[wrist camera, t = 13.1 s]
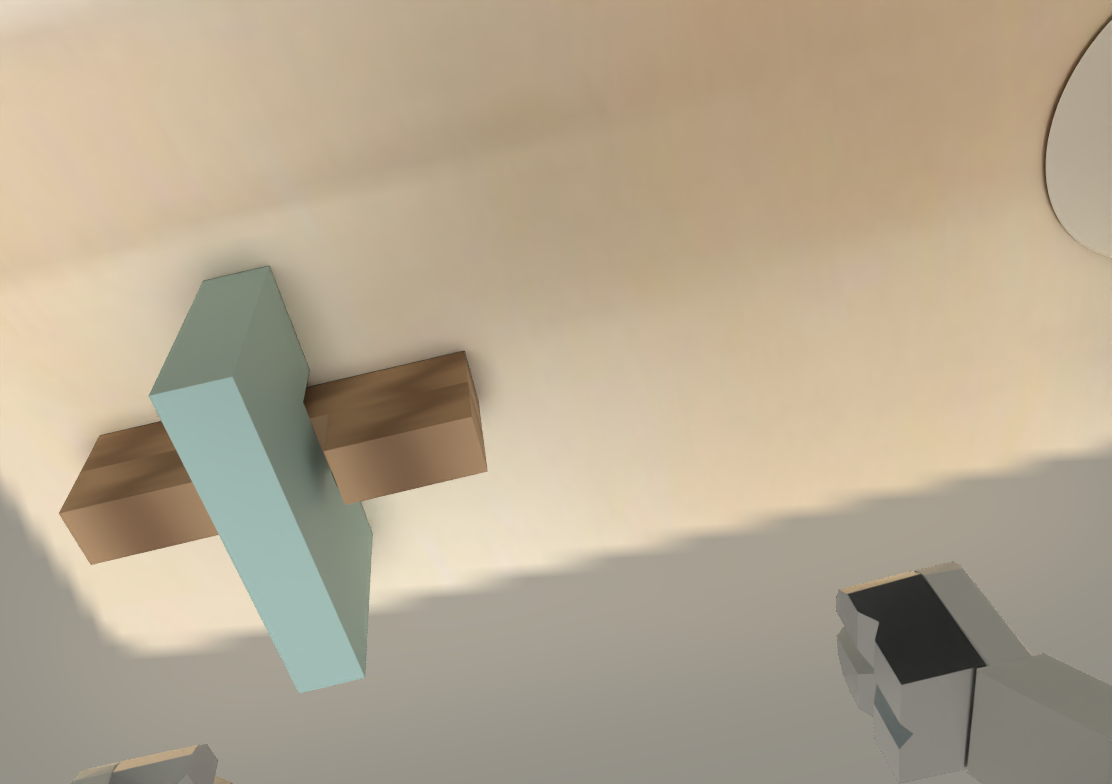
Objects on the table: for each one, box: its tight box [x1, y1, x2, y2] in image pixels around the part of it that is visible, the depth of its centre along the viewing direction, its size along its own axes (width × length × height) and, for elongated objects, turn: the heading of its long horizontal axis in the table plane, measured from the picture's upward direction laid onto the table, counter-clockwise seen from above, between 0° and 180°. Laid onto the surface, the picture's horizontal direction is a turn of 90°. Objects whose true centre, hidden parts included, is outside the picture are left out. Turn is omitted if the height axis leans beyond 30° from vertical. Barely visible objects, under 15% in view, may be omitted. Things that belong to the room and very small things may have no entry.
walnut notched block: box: [59, 351, 487, 565], centre depth 42 cm, size 18×3×6 cm, turn 101°
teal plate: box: [149, 266, 372, 693], centre depth 40 cm, size 3×16×10 cm, turn 11°
